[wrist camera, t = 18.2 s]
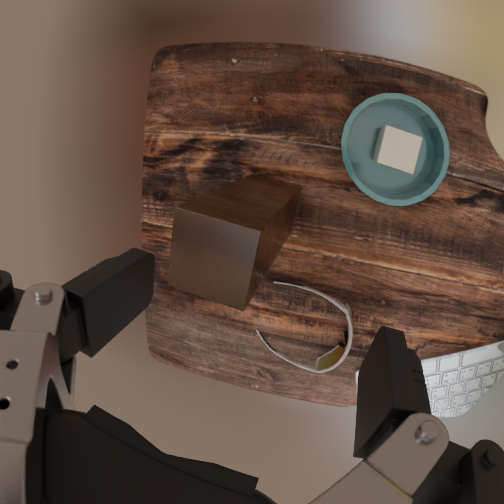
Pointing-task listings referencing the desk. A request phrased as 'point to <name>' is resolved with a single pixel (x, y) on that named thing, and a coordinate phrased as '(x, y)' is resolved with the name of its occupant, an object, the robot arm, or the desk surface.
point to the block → (397, 149)
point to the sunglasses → (331, 357)
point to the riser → (231, 238)
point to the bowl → (385, 177)
